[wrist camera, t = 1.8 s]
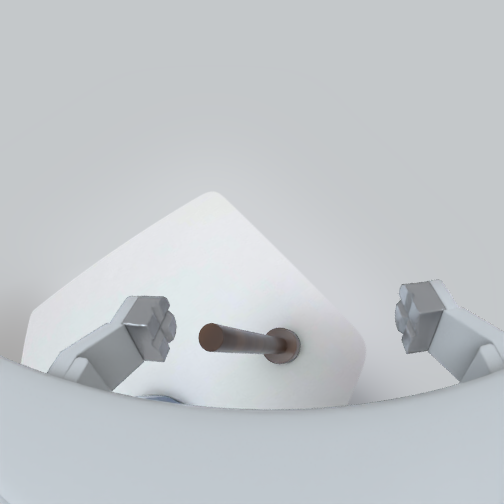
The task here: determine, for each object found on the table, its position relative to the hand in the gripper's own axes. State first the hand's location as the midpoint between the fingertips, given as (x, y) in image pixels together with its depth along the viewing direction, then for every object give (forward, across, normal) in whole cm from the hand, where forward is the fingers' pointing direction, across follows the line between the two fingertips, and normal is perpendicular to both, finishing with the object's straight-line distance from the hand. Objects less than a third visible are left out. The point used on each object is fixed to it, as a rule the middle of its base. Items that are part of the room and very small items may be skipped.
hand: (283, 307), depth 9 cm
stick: (+17, +2, +21) cm, 27 cm away
